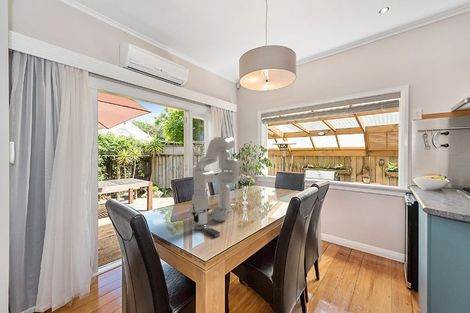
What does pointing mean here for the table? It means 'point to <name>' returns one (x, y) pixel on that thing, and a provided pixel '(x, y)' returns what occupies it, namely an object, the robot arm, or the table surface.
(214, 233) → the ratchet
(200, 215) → the wood-topped grey cube
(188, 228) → the table surface
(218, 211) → the teacup
